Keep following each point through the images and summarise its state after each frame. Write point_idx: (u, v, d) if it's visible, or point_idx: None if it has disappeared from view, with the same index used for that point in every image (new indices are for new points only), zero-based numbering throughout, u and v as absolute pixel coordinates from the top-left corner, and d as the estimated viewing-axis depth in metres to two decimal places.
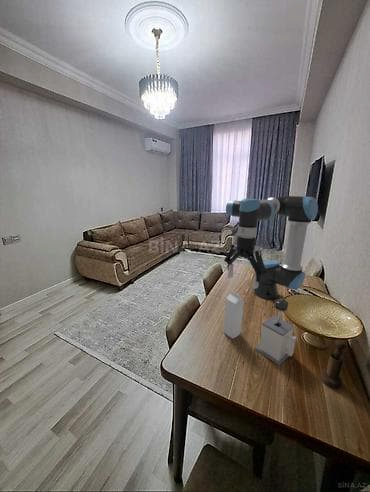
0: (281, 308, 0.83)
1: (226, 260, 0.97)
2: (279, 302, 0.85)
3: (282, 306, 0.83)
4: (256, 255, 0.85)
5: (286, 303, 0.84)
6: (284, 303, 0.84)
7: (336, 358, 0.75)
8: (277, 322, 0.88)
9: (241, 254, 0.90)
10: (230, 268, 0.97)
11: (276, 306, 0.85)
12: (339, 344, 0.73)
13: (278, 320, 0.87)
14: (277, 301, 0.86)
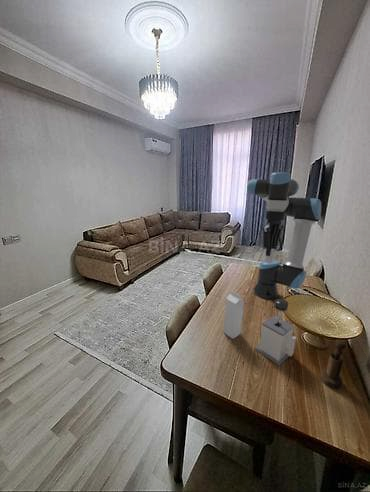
0: (281, 308, 0.83)
1: None
2: (279, 302, 0.85)
3: (282, 306, 0.83)
4: None
5: (286, 303, 0.84)
6: (284, 303, 0.84)
7: (336, 358, 0.75)
8: (277, 322, 0.88)
9: None
10: None
11: (276, 306, 0.85)
12: (339, 344, 0.73)
13: (278, 320, 0.87)
14: (277, 301, 0.86)
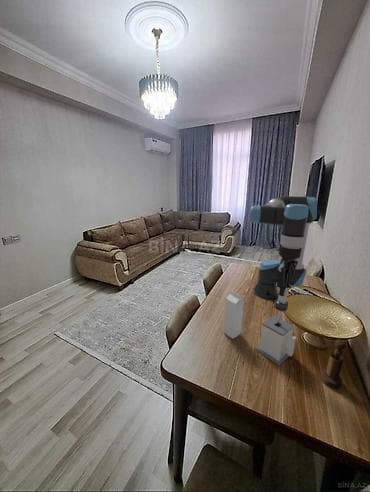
0: (281, 308, 0.83)
1: None
2: (279, 302, 0.85)
3: (282, 307, 0.83)
4: None
5: (286, 303, 0.84)
6: None
7: (336, 358, 0.75)
8: (277, 322, 0.88)
9: None
10: None
11: (276, 306, 0.85)
12: (339, 344, 0.73)
13: (278, 320, 0.87)
14: (277, 301, 0.86)
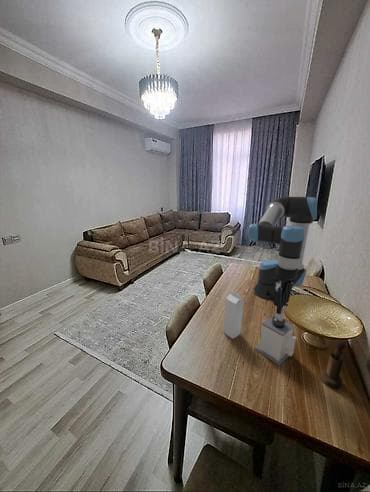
0: (278, 326, 0.86)
1: None
2: (276, 319, 0.87)
3: (279, 324, 0.85)
4: None
5: (283, 320, 0.87)
6: None
7: (336, 358, 0.75)
8: None
9: None
10: None
11: (273, 323, 0.87)
12: (339, 344, 0.73)
13: None
14: (274, 318, 0.88)
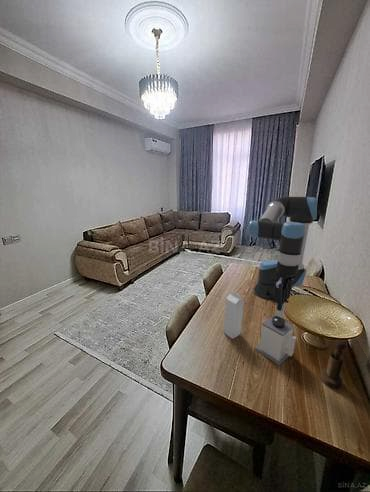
0: (278, 326, 0.86)
1: None
2: (276, 319, 0.87)
3: (279, 324, 0.85)
4: None
5: (283, 320, 0.87)
6: (281, 320, 0.87)
7: (336, 358, 0.75)
8: None
9: None
10: None
11: (273, 323, 0.87)
12: (339, 344, 0.73)
13: None
14: (274, 318, 0.88)
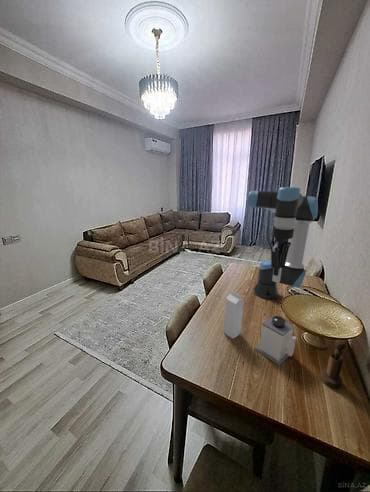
0: (278, 326, 0.86)
1: None
2: (276, 319, 0.87)
3: (279, 324, 0.85)
4: None
5: (283, 320, 0.87)
6: (281, 320, 0.87)
7: (336, 358, 0.75)
8: None
9: None
10: None
11: (273, 323, 0.87)
12: (339, 344, 0.73)
13: None
14: (274, 318, 0.88)
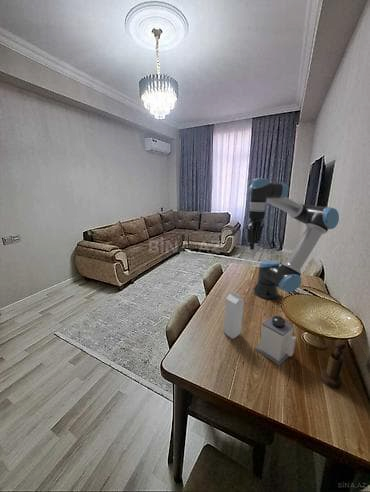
0: (278, 326, 0.86)
1: None
2: (276, 319, 0.87)
3: (279, 324, 0.85)
4: None
5: (283, 320, 0.87)
6: (281, 320, 0.87)
7: (336, 358, 0.75)
8: None
9: None
10: None
11: (273, 323, 0.87)
12: (339, 344, 0.73)
13: None
14: (274, 318, 0.88)
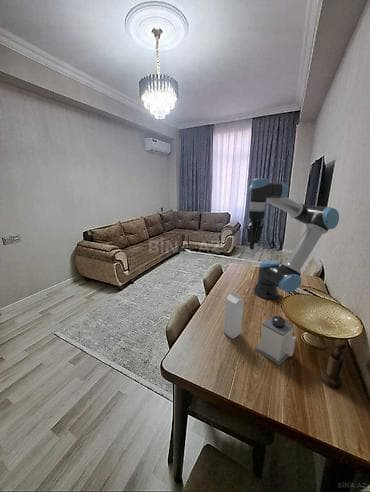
0: (278, 326, 0.86)
1: None
2: (276, 319, 0.87)
3: (279, 324, 0.85)
4: None
5: (283, 320, 0.87)
6: (281, 320, 0.87)
7: (336, 358, 0.75)
8: None
9: None
10: None
11: (273, 323, 0.87)
12: (339, 344, 0.73)
13: None
14: (274, 318, 0.88)
